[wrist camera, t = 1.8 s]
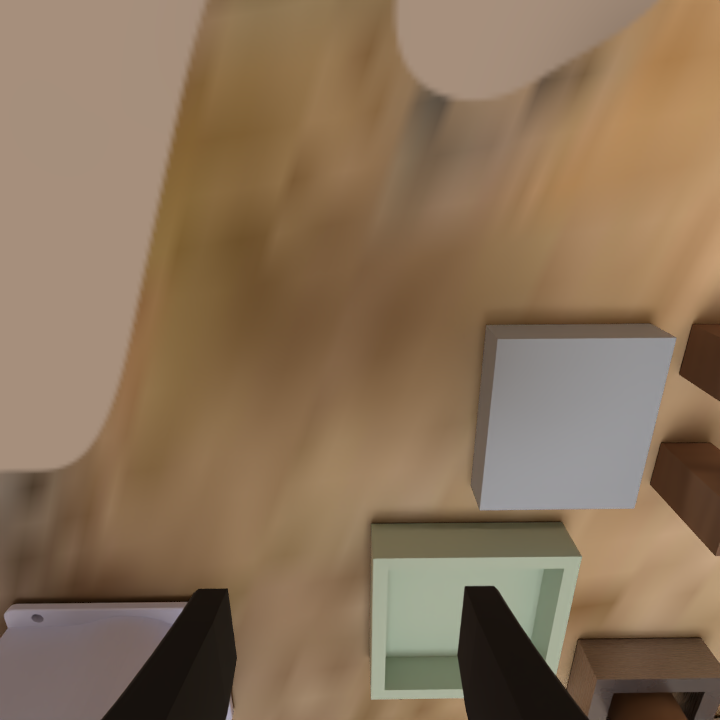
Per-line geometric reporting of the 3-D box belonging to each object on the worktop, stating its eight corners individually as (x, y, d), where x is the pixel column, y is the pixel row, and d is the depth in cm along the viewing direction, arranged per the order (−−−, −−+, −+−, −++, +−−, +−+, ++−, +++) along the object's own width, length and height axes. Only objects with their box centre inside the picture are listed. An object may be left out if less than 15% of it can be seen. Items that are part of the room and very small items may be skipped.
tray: (369, 658, 24) (371, 699, 22) (371, 523, 21) (373, 558, 19) (536, 656, 24) (551, 696, 23) (561, 521, 21) (581, 556, 19)
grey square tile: (468, 479, 21) (479, 510, 19) (483, 321, 18) (497, 339, 17) (609, 477, 21) (634, 508, 19) (643, 319, 18) (676, 337, 17)
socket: (559, 720, 26) (575, 763, 24) (578, 639, 24) (597, 679, 22) (671, 718, 26) (695, 761, 25) (701, 638, 24) (730, 678, 22)
